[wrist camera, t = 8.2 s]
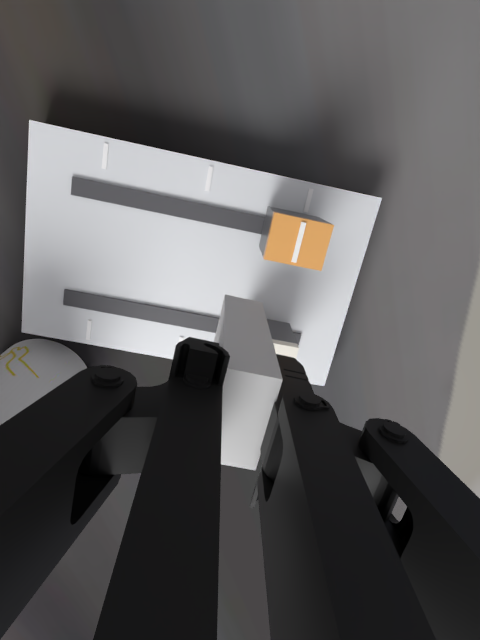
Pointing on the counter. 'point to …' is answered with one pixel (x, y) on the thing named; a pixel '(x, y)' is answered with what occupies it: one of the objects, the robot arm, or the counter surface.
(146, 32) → the counter surface
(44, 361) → the cup
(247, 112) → the counter surface
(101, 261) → the panel
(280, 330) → the fader cream
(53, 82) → the counter surface
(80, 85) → the counter surface
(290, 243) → the fader orange
